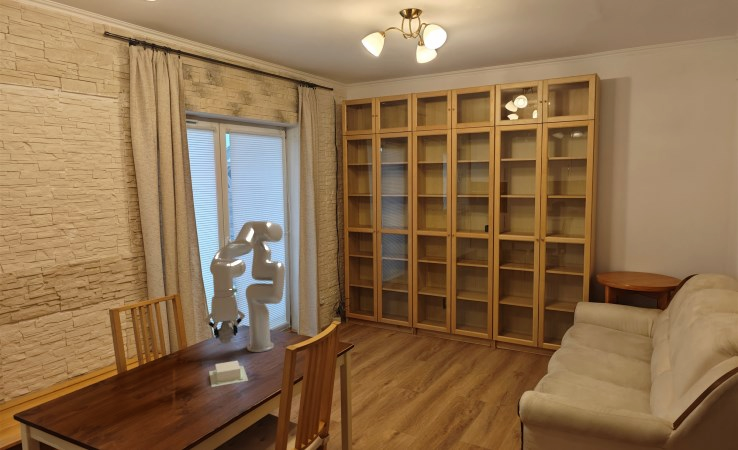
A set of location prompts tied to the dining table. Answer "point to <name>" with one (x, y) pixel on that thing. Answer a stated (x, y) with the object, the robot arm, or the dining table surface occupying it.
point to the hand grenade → (225, 332)
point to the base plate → (218, 383)
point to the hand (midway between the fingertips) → (226, 335)
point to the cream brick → (228, 371)
